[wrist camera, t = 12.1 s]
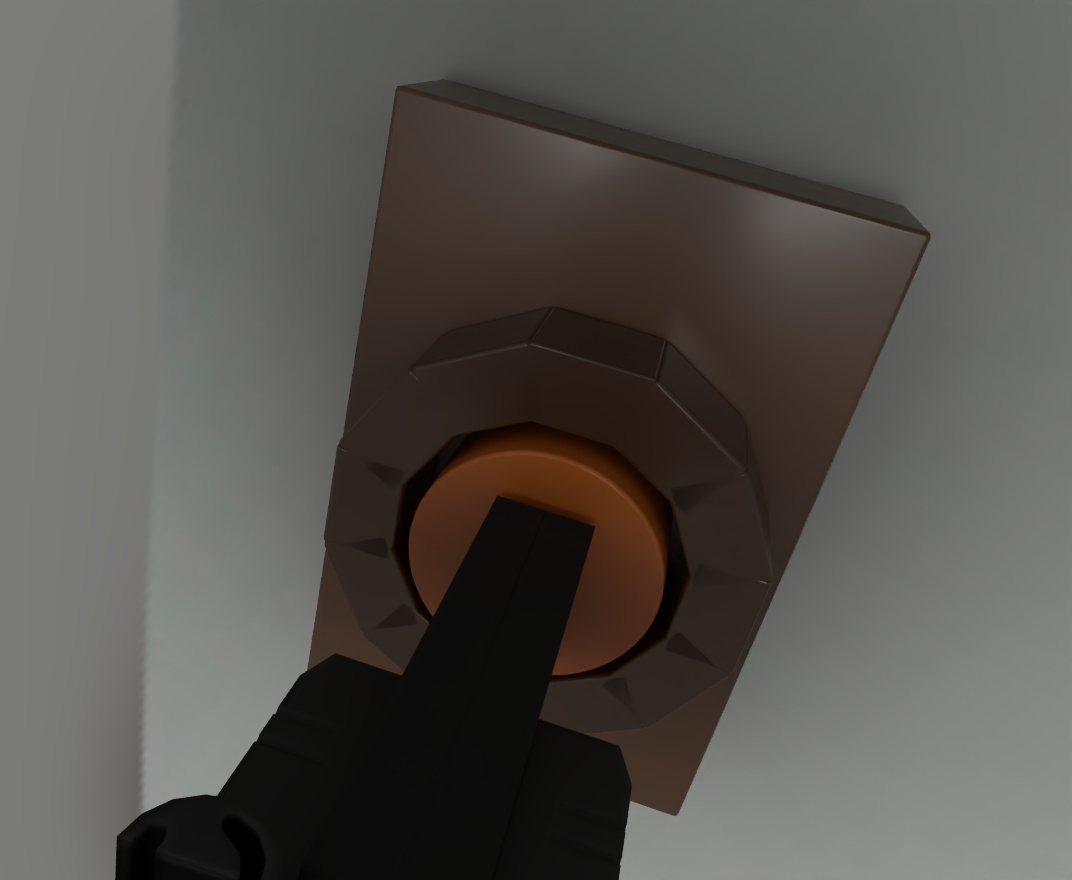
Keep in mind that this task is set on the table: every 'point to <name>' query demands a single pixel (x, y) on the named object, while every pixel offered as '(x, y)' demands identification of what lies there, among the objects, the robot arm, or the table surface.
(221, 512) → the table surface
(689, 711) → the button block
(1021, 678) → the table surface
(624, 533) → the button
